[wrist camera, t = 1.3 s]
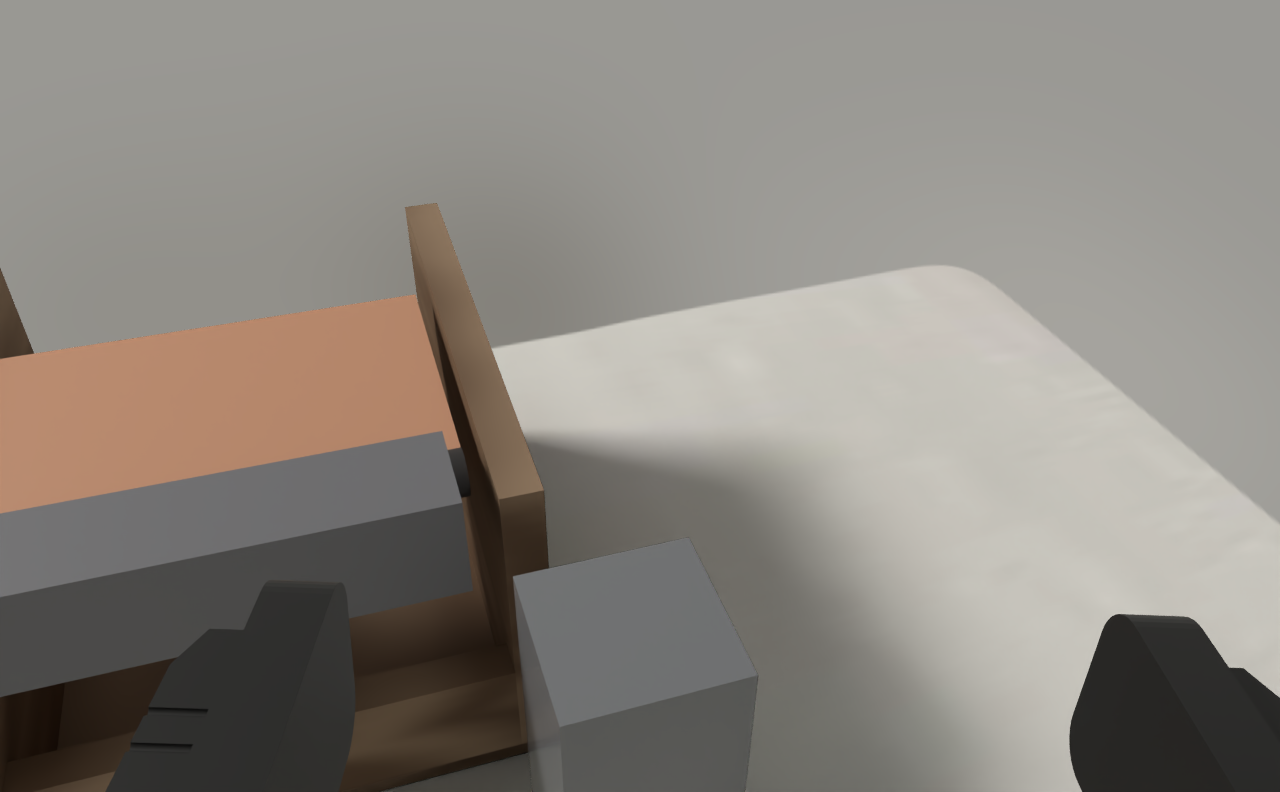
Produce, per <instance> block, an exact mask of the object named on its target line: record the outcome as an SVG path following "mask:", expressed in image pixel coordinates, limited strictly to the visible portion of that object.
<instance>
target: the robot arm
mask: <svg viewBox="0 0 1280 792" xmlns="http://www.w3.org/2000/svg"><path fill="white" fill-rule="evenodd" d="M354 719H355V682H354V671H353V659H352V648H351V636H350V625H349V614H348V602H347V594H346V589H345V586H344V585H343V583H341V582H320V581H294V580H268V581H267V582H266V583H265V584H264V586H263V588H262V590H261V592H260V594H259V596H258V598H257V601H256V603H255V605H254V607H253V610H252V612H251V614H250V617H249V619H248V621H247V623H246V626H245V628H244V630H233V629H209V630H207V631H206V632H205V633H204V634H203V635H202V636H201V637H200V638H199V639H197V640H196V641H195V642H194V643H193V644H192V645H191V646H190V647H189V648H187V649H186V650H185V651H184V652H183V653H182V654H181V655H180V656H179V657H177V658H176V659H175V660H174V661H173V662H172V663H171V664H170V665H169V667H168V669H167V671H166V673H165V675H164V677H163V679H162V681H161V683H160V685H159V687H158V689H157V691H156V693H155V695H154V697H153V699H152V700H151V702H150V704H149V706H148V714H147V716H145V715H144V716H143V718H142V720H141V722H140V724H139V726H138V728H137V730H136V732H135V734H134V736H133V738H132V740H131V742H130V750H129V752H125V754H124V756H123V758H122V760H121V762H120V764H119V766H118V768H117V769H116V771H115V773H114V775H113V777H112V779H111V781H110V783H109V785H108V787H107V789H106V791H105V792H339V788H340V785H341V781H342V777H343V774H344V770H345V767H346V763H347V759H348V756H349V752H350V747H351V742H352V736H353V729H354ZM1070 754H1071V761H1072V766H1073V770H1074V773H1075V776H1076V779H1077V781H1078V783H1079V786H1080V788H1081V790H1082V792H1280V698H1279V697H1278V696H1277V695H1275V694H1274V693H1273V692H1272V691H1271V690H1269V689H1268V688H1267V687H1266V686H1264V685H1263V684H1262V683H1261V682H1259V681H1258V680H1257V679H1256V678H1255V677H1253V676H1252V675H1251V674H1250V673H1248V672H1247V671H1246V670H1245V669H1244V668H1229V667H1228V666H1227V664H1226V663H1225V661H1224V660H1223V658H1222V657H1221V655H1220V654H1219V653H1218V651H1217V650H1216V648H1215V647H1214V645H1213V644H1212V642H1211V641H1210V639H1209V638H1208V636H1207V635H1206V634H1205V632H1204V631H1203V629H1202V628H1201V627H1200V625H1199V624H1198V623H1197V622H1195V621H1194V620H1193V619H1191V618H1189V617H1180V616H1154V615H1127V614H1117V615H1114V616H1112V617H1111V618H1110V619H1109V620H1108V621H1107V623H1106V624H1105V626H1104V628H1103V631H1102V633H1101V636H1100V639H1099V642H1098V645H1097V648H1096V651H1095V653H1094V656H1093V659H1092V662H1091V665H1090V668H1089V671H1088V673H1087V676H1086V679H1085V682H1084V685H1083V688H1082V691H1081V693H1080V696H1079V699H1078V702H1077V705H1076V708H1075V711H1074V713H1073V717H1072V720H1071V726H1070Z"/></svg>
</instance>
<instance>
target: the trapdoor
mask: <svg viewBox="0 0 1280 792" xmlns="http://www.w3.org/2000/svg"><path fill="white" fill-rule="evenodd" d="M468 496H471V490H470V482H469V476H468V471H467V466H466V461H465V457H464V453H463V450H462V448H461V447H460V443H459V440H458V436H457V433H456V430H455V426H454V423H453V420H452V416H451V413H450V409H449V406H448V403H447V399H446V396H445V393H444V389H443V386H442V383H441V379H440V376H439V372H438V369H437V366H436V362H435V359H434V356H433V352H432V349H431V346H430V342H429V339H428V335H427V332H426V329H425V325H424V322H423V319H422V315H421V312H420V309H419V305H418V302H417V298H416V295H410V296H402V297H396V298H390V299H384V300H377V301H370V302H364V303H358V304H351V305H345V306H338V307H332V308H325V309H319V310H312V311H306V312H300V313H293V314H287V315H280V316H274V317H267V318H261V319H254V320H248V321H242V322H235V323H229V324H223V325H216V326H209V327H203V328H196V329H190V330H184V331H178V332H171V333H164V334H158V335H151V336H145V337H138V338H132V339H125V340H119V341H113V342H107V343H100V344H94V345H87V346H81V347H74V348H68V349H61V350H55V351H48V352H42V353H36V354H29V355H22V356H16V357H10V358H3V359H0V697H3V696H7V695H11V694H16V693H20V692H25V691H29V690H34V689H38V688H43V687H47V686H51V685H56V684H60V683H65V682H69V681H74V680H78V679H83V678H87V677H91V676H96V675H100V674H105V673H109V672H114V671H118V670H123V669H127V668H131V667H136V666H140V665H145V664H149V663H154V662H158V661H163V660H167V659H171V658H176V657H179V656H180V655H181V654H182V653H183V652H184V651H185V650H186V649H187V648H189V647H190V646H191V645H192V644H193V643H194V642H195V641H196V640H197V639H199V638H200V637H201V636H202V635H203V634H204V633H205V632H206V631H207V630H209V629H233V630H244V628H245V626H246V623H247V621H248V619H249V617H250V614H251V612H252V610H253V607H254V605H255V603H256V601H257V598H258V596H259V594H260V592H261V590H262V588H263V586H264V584H265V583H266V582H267V581H268V580H294V581H320V582H341V583H343V585H344V586H345V589H346V594H347V602H348V614H349V618H354V617H358V616H363V615H367V614H372V613H376V612H380V611H385V610H389V609H394V608H398V607H403V606H407V605H412V604H416V603H420V602H425V601H429V600H434V599H438V598H443V597H447V596H452V595H456V594H460V593H465V592H469V591H473V586H472V578H471V570H470V562H469V553H468V545H467V537H466V529H465V521H464V512H463V504H462V500H461V498H464V497H468Z"/></svg>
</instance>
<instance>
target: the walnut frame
mask: <svg viewBox="0 0 1280 792" xmlns="http://www.w3.org/2000/svg"><path fill="white" fill-rule="evenodd" d="M405 209H406V217H407V225H408V232H409V240H410V247H411V254H412V262H413V269H414V276H415V284H416V292H417V299H418V305H419V309H420V312H421V315H422V319H423V322H424V325H425V329H426V332H427V335H428V339H429V342H430V346H431V349H432V352H433V356H434V359H435V362H436V366H437V369H438V372H439V376H440V379H441V383H442V386H443V389H444V393H445V396H446V399H447V403H448V406H449V409H450V413H451V416H452V420H453V423H454V426H455V430H456V433H457V436H458V440H459V443H460V447H461V448H462V450H463V453H464V457H465V461H466V466H467V471H468V476H469V482H470V490H471V496H468V497H464V498H461V500H462V504H463V512H464V521H465V529H466V537H467V545H468V553H469V562H470V570H471V578H472V586H473V591H469V592H465V593H460V594H456V595H452V596H447V597H443V598H438V599H434V600H429V601H425V602H420V603H416V604H412V605H407V606H403V607H398V608H394V609H389V610H385V611H380V612H376V613H372V614H367V615H363V616H358V617H354V618H349V625H350V636H351V648H352V659H353V671H354V682H355V719H354V729H353V736H352V742H351V747H350V752H349V756H348V759H347V763H346V767H345V770H344V774H343V777H342V781H341V785H340V788H339V792H379V791H383V790H387V789H391V788H394V787H398V786H402V785H406V784H409V783H413V782H417V781H421V780H425V779H428V778H432V777H436V776H440V775H443V774H447V773H451V772H455V771H458V770H462V769H466V768H470V767H474V766H477V765H481V764H485V763H489V762H492V761H496V760H500V759H504V758H507V757H511V756H515V755H519V754H523V753H526V752H528V742H527V731H526V720H525V708H524V697H523V686H522V674H521V663H520V652H519V641H518V629H517V618H516V607H515V596H514V584H513V576H517V575H522V574H526V573H531V572H535V571H539V570H544V569H548V568H549V565H548V548H547V532H546V515H545V498H544V489H543V486H542V483H541V481H540V478H539V475H538V473H537V470H536V467H535V465H534V462H533V459H532V457H531V454H530V451H529V449H528V446H527V443H526V441H525V438H524V435H523V433H522V430H521V427H520V424H519V422H518V419H517V416H516V414H515V411H514V408H513V406H512V403H511V400H510V398H509V395H508V392H507V390H506V387H505V384H504V382H503V379H502V376H501V374H500V371H499V368H498V365H497V363H496V360H495V357H494V355H493V352H492V349H491V347H490V344H489V341H488V339H487V336H486V334H485V331H484V328H483V325H482V323H481V320H480V317H479V315H478V312H477V309H476V307H475V304H474V301H473V298H472V296H471V293H470V290H469V288H468V285H467V282H466V280H465V277H464V274H463V272H462V269H461V266H460V264H459V261H458V258H457V256H456V253H455V250H454V248H453V245H452V242H451V239H450V237H449V234H448V231H447V229H446V226H445V223H444V221H443V218H442V215H441V213H440V210H439V207H438V205H437V203H433V204H425V205H418V206H411V207H405ZM29 354H34V352H33V349H32V347H31V344H30V342H29V339H28V337H27V334H26V332H25V329H24V327H23V324H22V322H21V319H20V317H19V314H18V312H17V309H16V307H15V304H14V302H13V299H12V297H11V294H10V292H9V289H8V287H7V284H6V282H5V279H4V276H3V274H2V272H1V269H0V359H3V358H10V357H16V356H22V355H29ZM176 658H177V657H176ZM176 658H171V659H167V660H163V661H158V662H154V663H149V664H145V665H140V666H136V667H131V668H127V669H123V670H118V671H114V672H109V673H105V674H100V675H96V676H91V677H87V678H83V679H78V680H74V681H69V682H65V683H60V684H56V685H51V686H47V687H43V688H38V689H34V690H29V691H25V692H20V693H16V694H11V695H7V696H3V697H0V792H105V791H106V789H107V787H108V785H109V783H110V781H111V779H112V777H113V775H114V773H115V771H116V769H117V768H118V766H119V764H120V762H121V760H122V758H123V756H124V754H125V752H129V750H130V742H131V740H132V738H133V736H134V734H135V732H136V730H137V728H138V726H139V724H140V722H141V720H142V718H143V716H144V715H145V716H147V714H148V706H149V704H150V702H151V700H152V699H153V697H154V695H155V693H156V691H157V689H158V687H159V685H160V683H161V681H162V679H163V677H164V675H165V673H166V671H167V669H168V667H169V665H170V664H171V663H172V662H173V661H174V660H175V659H176Z"/></svg>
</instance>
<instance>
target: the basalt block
mask: <svg viewBox="0 0 1280 792" xmlns="http://www.w3.org/2000/svg"><path fill="white" fill-rule="evenodd" d="M513 584H514V596H515V607H516V618H517V629H518V641H519V652H520V663H521V674H522V686H523V697H524V708H525V720H526V731H527V742H528V753H529V765H530V776H531V787H532V792H745V788H746V779H747V770H748V761H749V752H750V744H751V735H752V726H753V717H754V708H755V700H756V691H757V682H758V674H757V672H756V670H755V668H754V666H753V664H752V662H751V660H750V658H749V656H748V654H747V652H746V650H745V648H744V646H743V644H742V642H741V640H740V638H739V636H738V634H737V632H736V630H735V628H734V626H733V624H732V622H731V620H730V618H729V616H728V614H727V612H726V610H725V608H724V606H723V604H722V602H721V600H720V598H719V596H718V594H717V592H716V590H715V588H714V586H713V584H712V582H711V580H710V578H709V576H708V574H707V572H706V570H705V568H704V566H703V564H702V562H701V560H700V558H699V556H698V554H697V552H696V550H695V548H694V546H693V545H692V543H691V541H690V539H689V537H687V538H683V539H678V540H674V541H669V542H665V543H660V544H656V545H651V546H647V547H642V548H638V549H633V550H629V551H624V552H620V553H616V554H611V555H607V556H602V557H598V558H593V559H589V560H584V561H580V562H575V563H571V564H566V565H562V566H557V567H553V568H548V569H544V570H539V571H535V572H531V573H526V574H522V575H517V576H513Z"/></svg>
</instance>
